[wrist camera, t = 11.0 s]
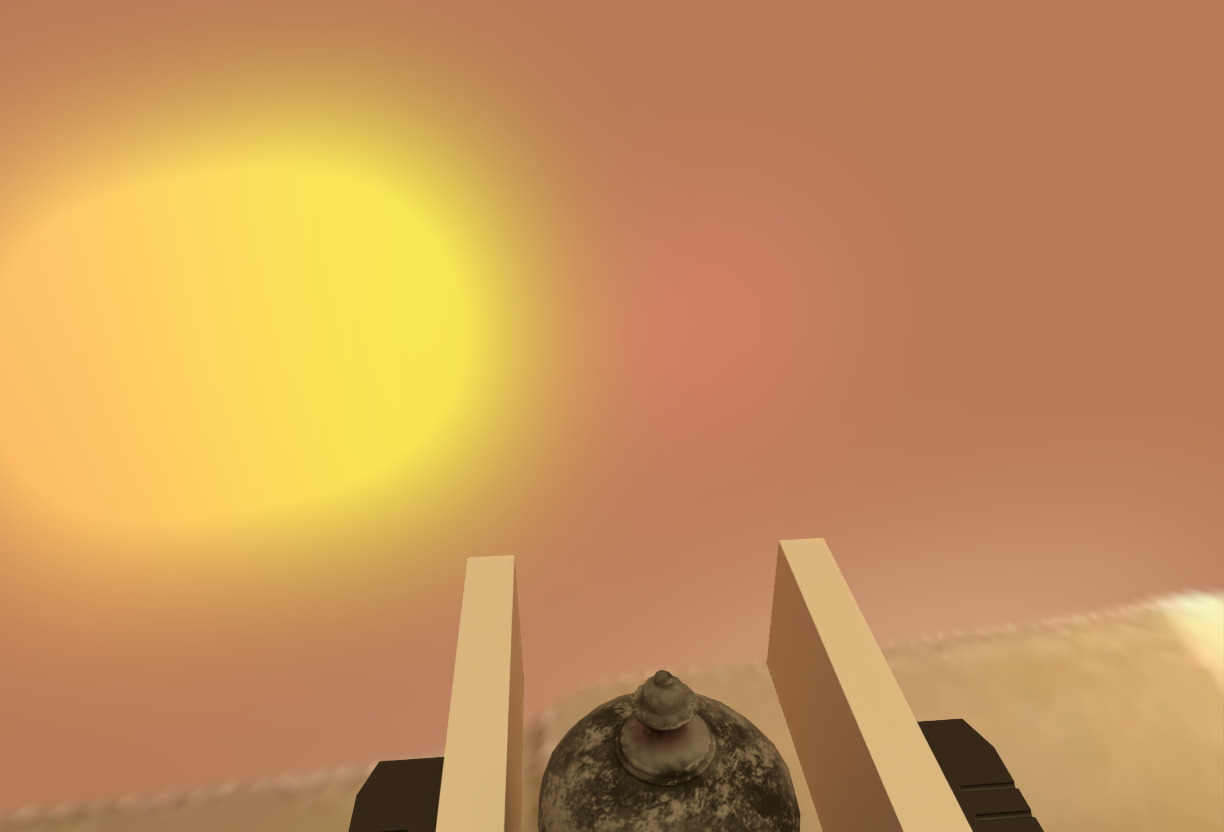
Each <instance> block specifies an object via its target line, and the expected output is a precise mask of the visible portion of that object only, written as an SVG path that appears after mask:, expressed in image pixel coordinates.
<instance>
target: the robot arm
mask: <svg viewBox="0 0 1224 832" xmlns="http://www.w3.org/2000/svg"><path fill="white" fill-rule="evenodd" d="M467 561H468V562H467V569H466V577H465V586H464V594H463V603H462V612H461V620H460V629H459V637H458V645H457V654H456V662H455V671H454V680H453V688H452V696H451V706H450V715H449V722H448V731H447V740H446V748H445V756H444V757H437V758H423V759H409V760H394V761H380V762H379V763H378V764H377V766H376V767H375V769H374V770H373V772H372V773H371V775H370V776H369V778H368V779H367V781H366V782H365V784H364V785H363V787H362V788H361V790H360V791H359V793H358V794H357V796H356V800H355V805H354V809H353V814H352V818H351V823H350V827H349V832H521V810H522V753H523V697H524V674H523V663H522V649H521V635H520V623H519V609H518V597H517V583H516V571H515V557H514V555H505V556H487V557H468V560H467ZM767 665H768V668H769V671H770V674H771V677H772V680H773V683H774V686H775V689H776V692H777V695H778V698H779V701H780V704H781V707H782V710H783V713H784V716H785V719H786V722H787V725H788V728H789V731H790V734H791V737H792V740H793V743H794V746H795V749H796V752H797V755H798V758H799V761H800V764H801V767H802V770H803V773H804V776H805V779H806V782H807V785H808V788H809V791H810V794H811V797H812V800H813V803H814V806H815V809H816V812H817V815H818V818H819V821H820V824H821V827H822V830H823V832H1044V831H1043V829H1042V828H1041V826H1040V824H1039V823H1038V821H1037V819H1036V818H1035V817H1032V815H1031V809H1030V807H1029V806H1028V804H1027V802H1026V801H1025V799H1024V797H1023V796H1022V794H1021V792H1020V790H1019V789H1016V788H1015V785H1014V780H1013V779H1012V777H1011V775H1010V774H1009V772H1008V770H1007V768H1006V767H1005V765H1004V763H1003V762H1002V760H1001V758H1000V757H999V755H998V753H997V752H996V750H995V748H994V747H993V746H992V745H991V744H990V743H989V742H988V741H986V740H985V739H984V738H983V737H982V736H981V735H980V734H979V733H978V732H976V731H975V730H974V729H973V728H972V727H971V726H970V725H969V724H968V723H966V722H965V721H964V720H963V719H950V720H936V721H922V722H917V721H916V719H915V717H914V715H913V713H912V711H911V709H910V707H909V705H908V703H907V701H906V699H905V698H904V696H903V694H902V692H901V690H900V688H899V686H898V684H897V682H896V680H895V678H894V676H893V674H892V672H891V670H890V668H889V666H888V664H887V662H886V660H885V658H884V656H883V654H882V652H881V650H880V648H879V646H878V644H877V642H876V640H875V638H874V637H873V635H872V633H871V631H870V629H869V627H868V625H867V623H866V621H865V619H864V617H863V615H862V613H861V611H860V609H859V607H858V606H857V603H856V601H855V599H854V597H853V595H852V593H851V591H850V589H849V588H848V585H847V583H846V582H845V579H844V578H843V576H842V574H841V572H840V570H839V568H838V566H837V564H836V562H835V560H834V558H833V556H832V554H831V552H830V550H829V548H828V546H827V544H826V542H825V540H824V538H815V539H796V540H780V541H779V546H778V556H777V567H776V576H775V586H774V596H773V607H772V616H771V626H770V636H769V646H768V656H767Z"/></svg>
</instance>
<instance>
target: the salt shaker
mask: <svg viewBox="0 0 1224 832" xmlns="http://www.w3.org/2000/svg"><path fill="white" fill-rule="evenodd" d="M538 828H539V832H800V811H799V807H798V803H797V799H796V795H795V791H794V787H793V784H792V780H791V776H790V772H789V769H788V767H787V765H786V763H785V762H784V760H783V758H782V757H781V755H780V754H779V752H778V750H777V749H776V747H775V745H774V744H773V743H772V742H771V741H770V740H769V739H768V738H767V737H766V736H765V735H764V734H763V733H762V732H761V731H760V730H759V729H758V728H757V727H756V726H755V725H754V724H752V723H751V722H750V721H749V720H748V719H746V718H745V717H744V716H743V715H741V714H740V713H738V712H736V711H735V710H733V709H731V708H730V707H728V706H726V705H725V704H723V703H721V702H719V701H716V700H713V699H711V698H708V697H705V696H702V695H699V694H696V693H694V692H693V691H692V690H691V689H690V688H689V687H688V686H687V685H686V684H683V683H682V682H681V681H680V680H679V679H678V678H677V677H674V676H672V675H671V674H670V673H669V672H667V671H664V670H661V671H658V672H656V674H655V676H652V677H650V678H648V679H647V681H646V682H645V684H643V685H641V686H639V687H638V688H637V690H636V691H635V693H632V694H627V695H623V696H619V697H617V698H615V699H613V700H611V701H609V702H606V703H604V704H602V705H600V706H598V707H596V708H595V709H594V710H593V711H591V712H590V713H589V714H588V715H586V716H585V717H584V718H583V719H581V720H580V721H579V722H578V723H577V724H576V725H574V726H573V727H572V728H571V729H570V730H569V731H568V732H567V733H566V735H565V736H564V737H563V739H562V740H561V741H560V743H559V744H558V745H557V747H556V748H555V749H554V751H553V752H552V754H551V757H550V760H549V762H548V765H547V768H546V770H545V773H544V776H543V779H542V785H541V790H540V796H539V814H538Z"/></svg>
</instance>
